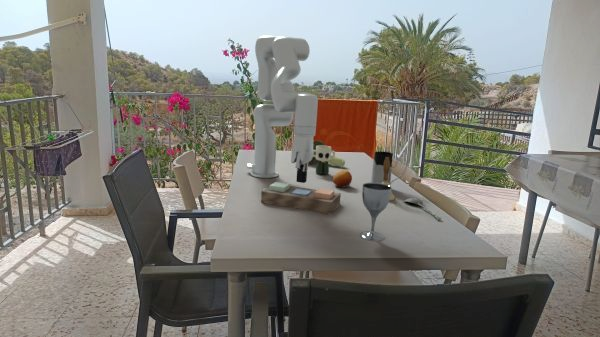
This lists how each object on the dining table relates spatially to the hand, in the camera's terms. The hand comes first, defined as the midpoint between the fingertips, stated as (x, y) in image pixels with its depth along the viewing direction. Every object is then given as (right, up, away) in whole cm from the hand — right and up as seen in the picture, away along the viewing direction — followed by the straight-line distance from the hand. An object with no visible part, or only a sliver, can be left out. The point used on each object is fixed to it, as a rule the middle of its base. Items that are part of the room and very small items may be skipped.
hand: (301, 181), depth 141 cm
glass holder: (+36, -4, +27) cm, 45 cm away
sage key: (-8, -4, +3) cm, 10 cm away
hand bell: (+32, -7, +14) cm, 36 cm away
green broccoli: (+11, +7, +69) cm, 70 cm away
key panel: (0, -8, +1) cm, 8 cm away
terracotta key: (+8, -6, -2) cm, 10 cm away
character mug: (+10, +2, +48) cm, 49 cm away
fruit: (+17, -3, +27) cm, 32 cm away
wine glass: (+20, -15, -26) cm, 36 cm away
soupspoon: (+43, -11, +1) cm, 45 cm away
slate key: (0, -6, +1) cm, 7 cm away
